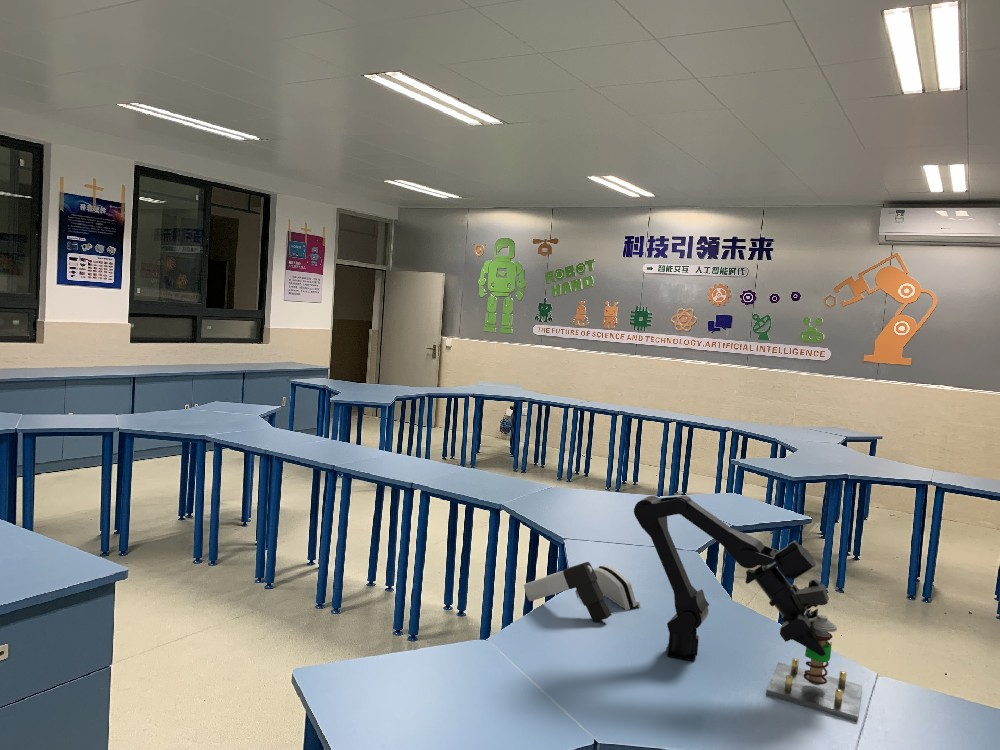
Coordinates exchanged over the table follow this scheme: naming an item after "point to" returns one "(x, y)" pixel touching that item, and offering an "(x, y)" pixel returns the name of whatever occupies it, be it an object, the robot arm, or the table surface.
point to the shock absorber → (816, 665)
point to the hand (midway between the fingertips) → (825, 650)
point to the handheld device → (569, 579)
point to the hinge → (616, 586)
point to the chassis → (816, 691)
